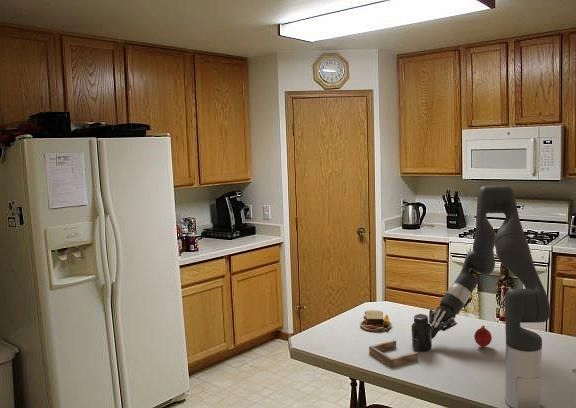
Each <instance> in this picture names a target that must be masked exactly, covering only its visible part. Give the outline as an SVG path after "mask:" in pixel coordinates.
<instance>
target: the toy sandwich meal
mask: <svg viewBox="0 0 576 408" xmlns="http://www.w3.org/2000/svg"><path fill="white" fill-rule="evenodd" d="M383 314H384V312H383V311H382V310H374V309H373V310H372V309H371V310H365V311H364V315H363V319H364V320H362V321H360V323H359V325H360V327H361V328H362V329H363V330H365V331H369V332H373V333H374V332H376V333H377V332H385V331H388V330H389V329H390V328H391V327H392V326H393V325H392V323H391V322H390V319H389V316H388V314H385V316H384V315H383Z"/></svg>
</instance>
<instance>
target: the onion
mask: <svg viewBox="0 0 576 408" xmlns="http://www.w3.org/2000/svg"><path fill="white" fill-rule="evenodd" d="M473 338H474V341H475V342H476V344H477V345H478V346H480V347H481V348H485V347H487V346H489V345H490V343H491V342H492V340H493V339H492V338H493V336H492V334H491V332H490V331H489V329H487V328H486V327H485V325H483V324H482V325H481V327H479V329H477V330H476V331H475V333H474V336H473Z"/></svg>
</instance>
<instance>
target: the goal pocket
mask: <svg viewBox="0 0 576 408" xmlns="http://www.w3.org/2000/svg"><path fill="white" fill-rule="evenodd" d="M392 349H397V341H396V340H395V339H393V340H389V341H384V342H381V343H377V344H374V345H370V346H369V347H368V351H369V352H368V353H369V354H370V355H372V356H373V357H374V358H376V359H378V360H380V361H381V362H383V363H384V364H386V365H387V366H389V367H391V368H392V367H393V368H394V367H397V366H402V365H404V364H408V363H411V362H415V361H418V360H419V353H418V351H413V352H410V353H406V354H402V355H400V356H396V357H391V356H389V355H388V354H386V353H384V351H387V350H388V351H389V350H392Z"/></svg>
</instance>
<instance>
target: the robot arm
mask: <svg viewBox="0 0 576 408" xmlns="http://www.w3.org/2000/svg"><path fill="white" fill-rule="evenodd" d="M476 198H477V199H476V211H475V212H476V215H475V216H476V217H475V221H476V222H475V233H474V239H473V245H472V250H470V251H468V252H467V253H466V255H465V258H464V262H463V265H462V268H461V271H460V273H459V274H458V276H457V277H456V279H455V280H454V282H453V283H452V285H450V287H449V288H448V289H447V291H446V292H445V294H444V295H443V297H442V299H441V300H440V301H439V302H440V303H439V306H438V307H436V309H434V310H432V309H429V310H428V311H429V313H428V314H429V315H428V323H429V324H430V325H431V335H432V339H435V338H436V335H438V333H439V332H441V331H442V332H445V331H448V330H449V329H451V328H453V327H454V326H457V325H458V323H457V321H456V317H457V315H459V314H460V312H461V310H463V307H464V306H465V304H467V302H468V300H469V298H470V296H471V295H472V293H473V291H474V290H475V288H476V287H477V285H478V283H479V280H478V278H477V277H476V276H475V275H474V274H473V273H472V272H471V270H473V271H475V272H477V273H478V274H480V275H482V276H489V275H490V274H492V273H493V271H494V269H495V268H496V267H495V266H496V261H495V260H496V257H495V253H496V255H497V258H498V260H499V262H500V263H501V264H502V265H503V267H504V268H505V269H507V270H508V271H509V272H510V273H511V274H512V275H514V276H515V277H516V278H517V279H518V280H519V281H520V282H521V283H522V285H523V286H524V288H509V289H508V290H506V292H505V295H504V314H505V315H504V317H505V319H504V320H505V324H504V325H505V360H504V361H505V366H504V367H505V369H504V379H505V380H504V401H505V404H506V405H508V407H511V408H541V400H542V397H541V396H542V364H543V363H542V361H543V360H542V357H543V339H542V336H541V335H540V334H538V333H536V332H534V331H533V330H529V329H527V328H524V327H522V326H521V323H522V324H523V323H525V324H528V323H531V324H532V323H533V324H537V323H545V322H547V321H548V320H549V319H550V316H551V305H550V301H549V298H548V294H547V292H546V290H545V288H544V285H543V283H542V281H541V279H540V277H539V274H538V272H537V269H536V266H535V263H534V260H533V257H532V254H531V249H530V245H529V243H528V240H527V237H526V235H525V231H524V228H523V226H522V223H521V222H522V221H521V220H520V216H519V210H518V205H517V201H516V198H515V193H514V191H513V189H512V187H510V186H509V185H483V186H481V187H480V188H479V189H478V193H477V197H476ZM487 214H504V216H505V218H504V221H503V223H501V226H500V227H499V228H498V230H497V232H496V231H495V229H494V227H493V226H492V224H491V223H490V221H489V219H488V217H487ZM494 248H495V251H496V252H495V253H494Z"/></svg>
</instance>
